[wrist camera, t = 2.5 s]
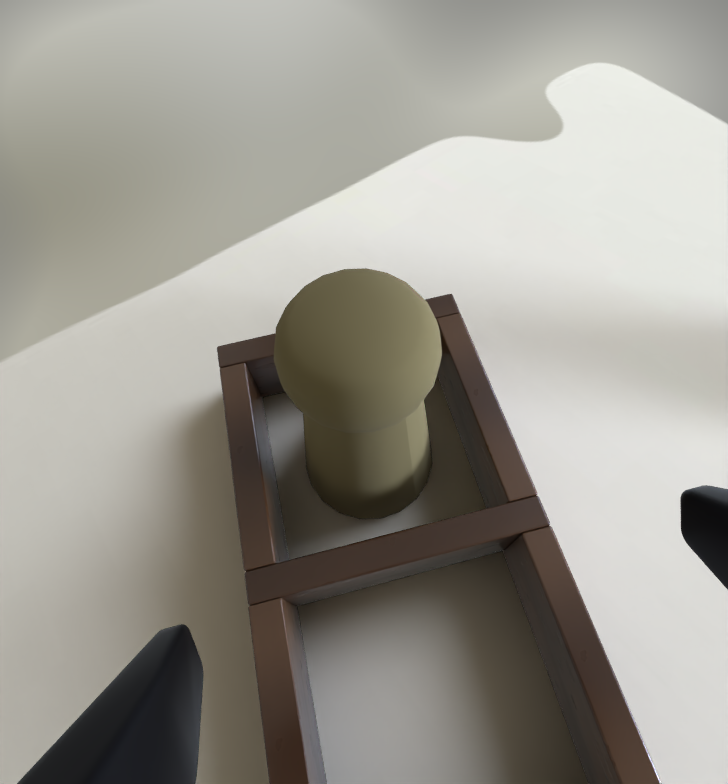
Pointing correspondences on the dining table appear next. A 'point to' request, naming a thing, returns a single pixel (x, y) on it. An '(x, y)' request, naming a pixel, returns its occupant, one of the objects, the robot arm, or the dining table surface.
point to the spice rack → (415, 566)
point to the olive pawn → (361, 387)
